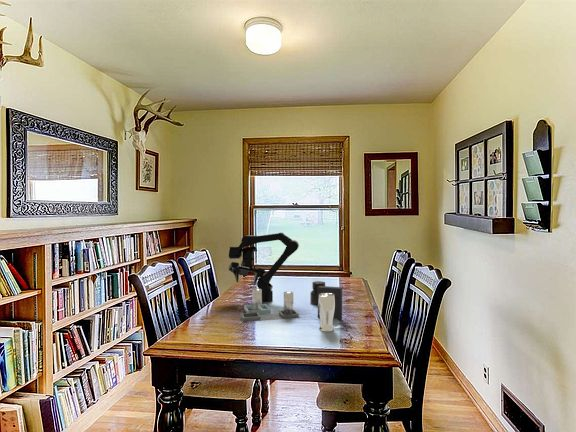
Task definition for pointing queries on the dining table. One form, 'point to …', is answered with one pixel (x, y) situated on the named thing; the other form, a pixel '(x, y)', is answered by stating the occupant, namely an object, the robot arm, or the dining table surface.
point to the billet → (288, 302)
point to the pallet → (267, 316)
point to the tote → (257, 310)
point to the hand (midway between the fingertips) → (245, 283)
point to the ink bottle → (315, 292)
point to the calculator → (338, 299)
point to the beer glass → (326, 311)
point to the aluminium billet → (257, 299)
